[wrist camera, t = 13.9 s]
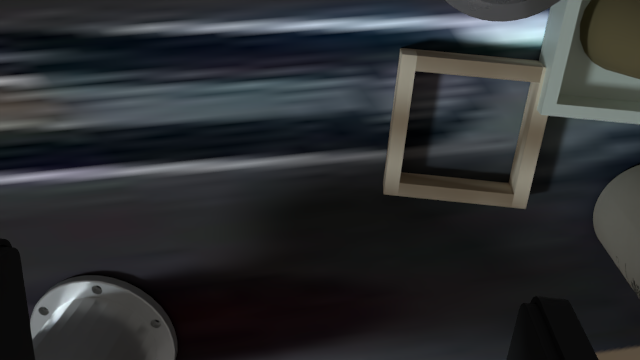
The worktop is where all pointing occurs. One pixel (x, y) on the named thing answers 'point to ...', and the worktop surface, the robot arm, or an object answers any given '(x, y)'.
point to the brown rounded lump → (612, 35)
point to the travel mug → (621, 224)
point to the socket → (463, 188)
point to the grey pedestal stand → (501, 8)
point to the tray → (581, 74)
